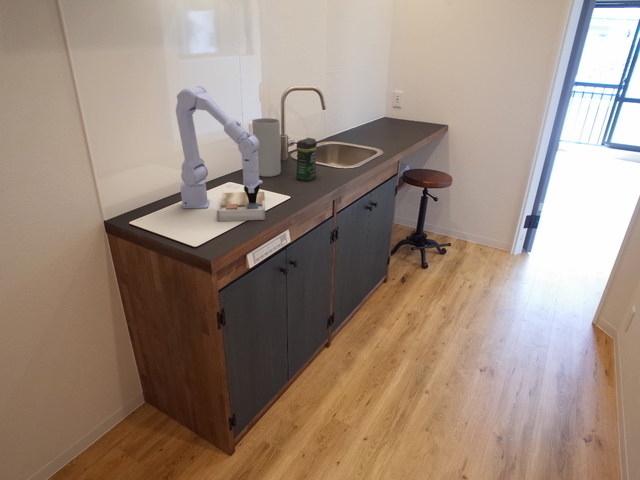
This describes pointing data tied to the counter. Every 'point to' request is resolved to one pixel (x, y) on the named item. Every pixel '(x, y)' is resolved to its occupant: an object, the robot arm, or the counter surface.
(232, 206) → the terracotta block
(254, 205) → the slate tile
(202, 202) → the robot arm
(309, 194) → the counter surface
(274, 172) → the cylinder vase
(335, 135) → the counter surface
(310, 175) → the coffee jar
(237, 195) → the oak board
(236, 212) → the box
